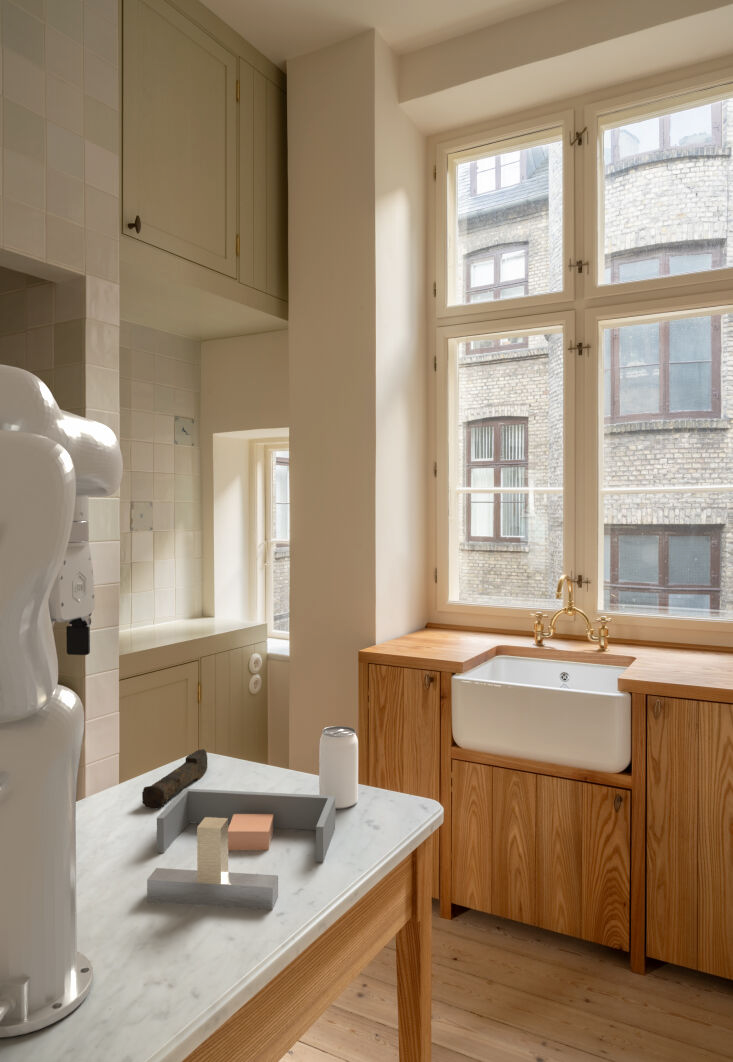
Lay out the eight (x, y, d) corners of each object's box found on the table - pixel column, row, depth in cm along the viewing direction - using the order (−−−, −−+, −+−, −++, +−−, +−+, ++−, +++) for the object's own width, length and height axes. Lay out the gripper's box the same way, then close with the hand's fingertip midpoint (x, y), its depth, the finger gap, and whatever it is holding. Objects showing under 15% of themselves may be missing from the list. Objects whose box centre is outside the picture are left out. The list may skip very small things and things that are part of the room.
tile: (268, 851, 106) (268, 831, 106) (227, 851, 106) (227, 831, 106) (273, 833, 112) (273, 813, 112) (233, 833, 112) (233, 813, 112)
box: (323, 862, 103) (323, 826, 102) (156, 852, 105) (156, 817, 105) (335, 828, 114) (335, 795, 113) (184, 819, 116) (184, 788, 116)
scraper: (272, 911, 91) (272, 831, 90) (147, 903, 92) (146, 824, 92) (278, 898, 94) (278, 820, 93) (156, 890, 95) (156, 814, 95)
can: (365, 801, 124) (366, 730, 123) (338, 813, 119) (338, 739, 119) (338, 791, 128) (338, 722, 128) (311, 802, 123) (311, 731, 123)
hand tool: (162, 812, 120) (162, 783, 120) (141, 808, 121) (140, 780, 121) (220, 772, 138) (220, 747, 138) (201, 770, 139) (201, 745, 139)
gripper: (50, 538, 90) (52, 677, 91) (114, 532, 107) (115, 650, 108) (-8, 537, 91) (-6, 675, 91) (65, 532, 108) (66, 648, 109)
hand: (60, 661), depth 100 cm, fingers open, 9 cm apart
